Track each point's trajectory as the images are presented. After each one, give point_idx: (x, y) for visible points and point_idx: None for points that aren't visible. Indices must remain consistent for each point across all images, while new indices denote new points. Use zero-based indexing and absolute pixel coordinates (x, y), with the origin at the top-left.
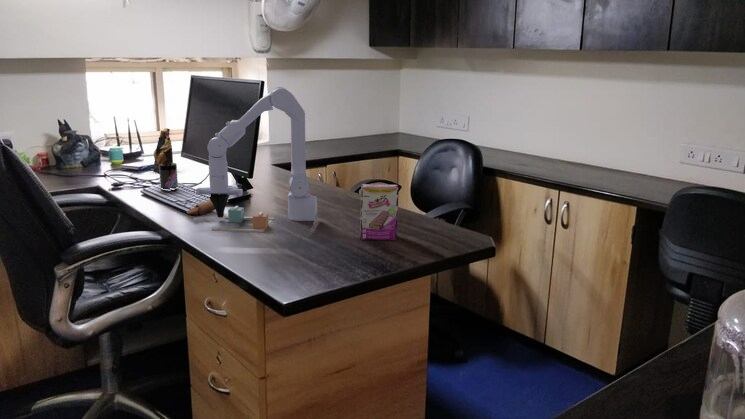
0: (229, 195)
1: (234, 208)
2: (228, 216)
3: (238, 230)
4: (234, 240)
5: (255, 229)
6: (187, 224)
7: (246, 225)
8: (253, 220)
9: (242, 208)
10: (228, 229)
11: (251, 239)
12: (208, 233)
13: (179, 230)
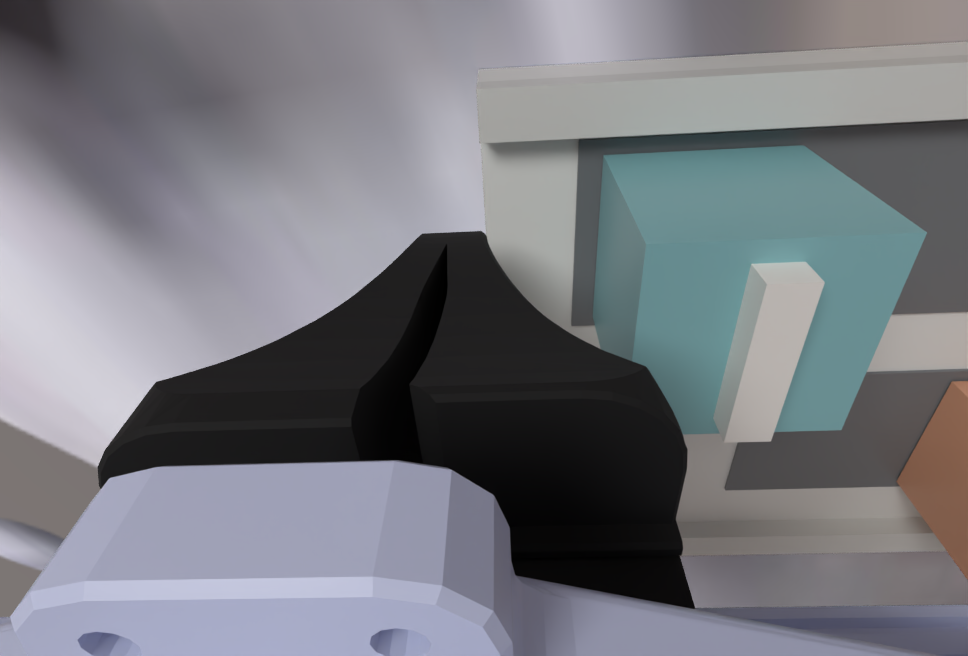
0: (680, 433)
1: (745, 440)
2: None
3: (751, 549)
4: (712, 586)
5: (921, 537)
6: (67, 278)
7: None
8: (963, 562)
9: (890, 307)
10: None
11: (842, 563)
12: None
13: None
